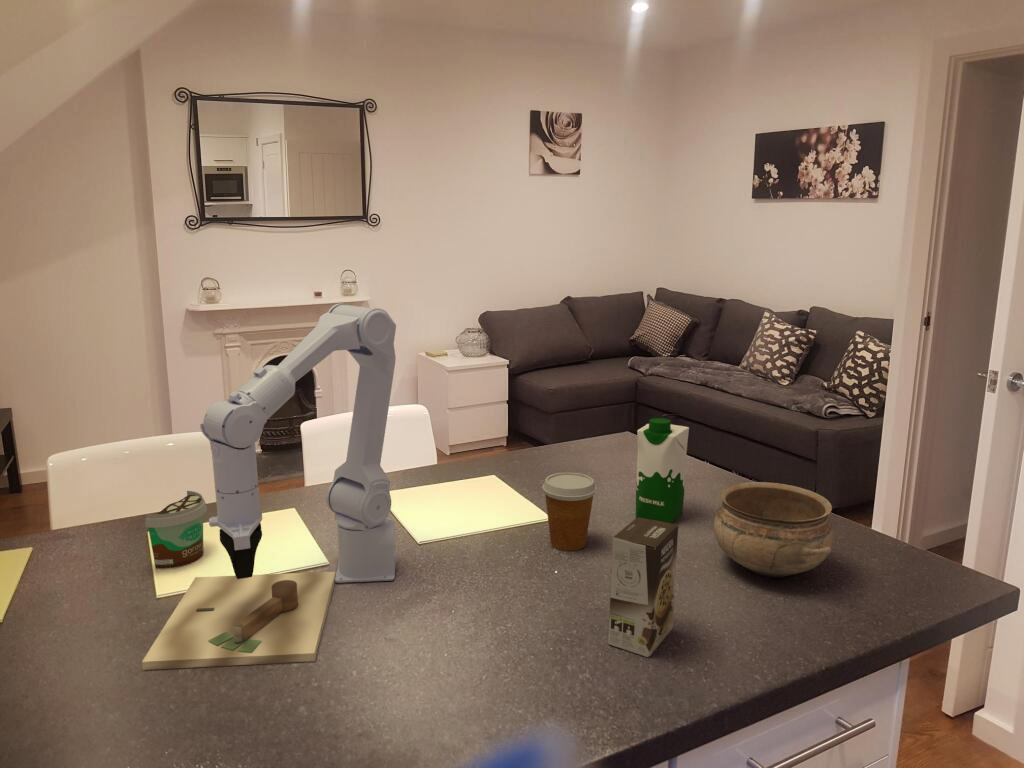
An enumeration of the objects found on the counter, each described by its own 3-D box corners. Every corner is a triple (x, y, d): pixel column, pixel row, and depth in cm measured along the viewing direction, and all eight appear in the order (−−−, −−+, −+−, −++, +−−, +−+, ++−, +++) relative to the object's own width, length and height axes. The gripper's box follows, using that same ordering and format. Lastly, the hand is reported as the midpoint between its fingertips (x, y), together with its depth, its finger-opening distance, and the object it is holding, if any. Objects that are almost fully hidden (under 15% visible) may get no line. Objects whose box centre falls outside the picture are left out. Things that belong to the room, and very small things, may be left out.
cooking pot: (680, 547, 141) (683, 482, 138) (767, 532, 147) (772, 470, 144) (771, 613, 118) (777, 537, 115) (870, 593, 124) (878, 520, 122)
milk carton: (629, 519, 153) (633, 419, 149) (647, 504, 161) (651, 409, 156) (672, 529, 149) (677, 426, 144) (689, 513, 156) (694, 416, 152)
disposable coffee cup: (534, 549, 139) (534, 485, 137) (551, 529, 148) (552, 468, 145) (585, 558, 136) (587, 493, 133) (600, 537, 144) (602, 475, 142)
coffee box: (650, 659, 106) (655, 547, 102) (606, 645, 109) (610, 536, 106) (674, 629, 113) (680, 524, 110) (633, 616, 117) (637, 514, 113)
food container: (183, 575, 129) (178, 518, 127) (150, 572, 130) (144, 515, 128) (224, 544, 141) (220, 492, 139) (193, 541, 142) (189, 489, 140)
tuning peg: (282, 597, 119) (281, 578, 118) (302, 601, 118) (301, 582, 117) (225, 641, 107) (223, 619, 106) (247, 646, 106) (245, 624, 105)
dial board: (335, 578, 128) (335, 570, 128) (314, 661, 105) (314, 651, 105) (196, 584, 126) (195, 576, 126) (142, 670, 103) (141, 660, 103)
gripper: (206, 473, 115) (214, 559, 118) (206, 509, 102) (215, 604, 105) (256, 468, 118) (263, 552, 121) (263, 501, 104) (270, 595, 107)
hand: (244, 576), depth 113 cm, fingers closed
